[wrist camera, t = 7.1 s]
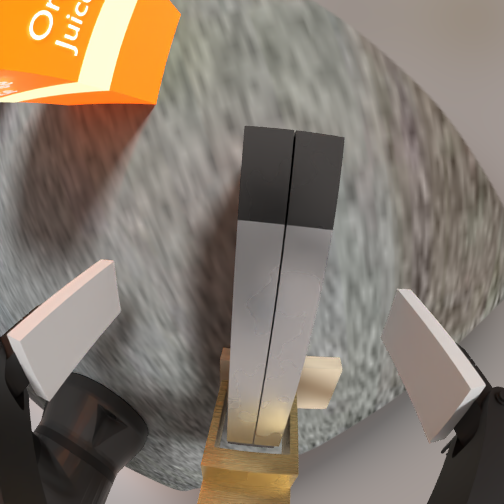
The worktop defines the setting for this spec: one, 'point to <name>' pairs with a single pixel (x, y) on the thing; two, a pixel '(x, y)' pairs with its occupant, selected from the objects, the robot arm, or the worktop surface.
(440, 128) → the worktop surface
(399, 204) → the worktop surface
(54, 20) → the orange juice
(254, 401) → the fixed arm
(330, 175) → the tongs arm
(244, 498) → the lock collar
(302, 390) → the stand
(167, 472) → the worktop surface
